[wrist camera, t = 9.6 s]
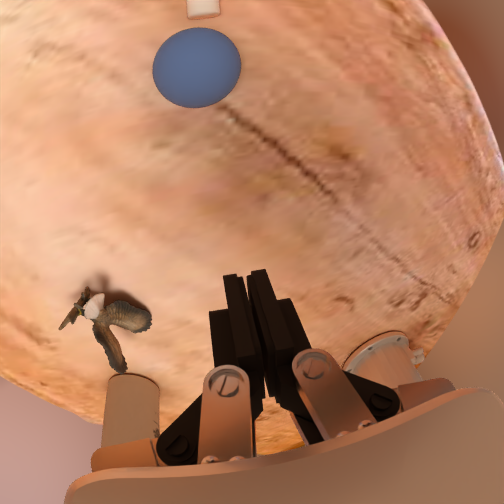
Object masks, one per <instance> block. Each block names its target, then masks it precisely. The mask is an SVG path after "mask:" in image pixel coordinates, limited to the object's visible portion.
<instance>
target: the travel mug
mask: <svg viewBox="0 0 504 504" xmlns="http://www.w3.org/2000/svg"><path fill="white" fill-rule="evenodd" d="M159 436H160V432H159V388H158V387H157V386H156V385H155V384H154V383H153V382H151V381H150V380H148V379H145V378H143V377H140V376H135V375H118V376H114V377H112V378H111V379H110V380H109V382H108V388H107V395H106V403H105V411H104V420H103V431H102V442H101V448H102V447H107V446H112V445H117V444H122V443H127V442H132V441H136V440H141V439H145V438H150V439H154V438H158V437H159Z"/></svg>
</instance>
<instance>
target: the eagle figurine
mask: <svg viewBox="0 0 504 504" xmlns="http://www.w3.org/2000/svg"><path fill="white" fill-rule="evenodd" d="M89 292H90V290H89V289H88V287H86V289H85V292H82V293H81V295H82V296H81V298H80V299H79V300H78V302H77V303H74V308H73V309H72V310H71V311H70V312H69V314H68V315H67V317H66V318H65V320H64V321H63V322H62V324H61V325H60V327H59V330H62V329H63V328H64V327H65V326H66V325H67V324H68V323H69V322H71V324H74V322H75V320H76V318H77V316H79V315H82V316H85V318H86V319H90V320H92V321H93V322H94V325H93V328H92V330H93V331H94V332H93V333H94V335H95V338H96V340H97V342H98V343H100V344H101V345H102V346H103V348H104V349H105V353H106V355H107V356H108V360H109V364H110V366H111V367H112V368H114V370H116V372H118V373H120V374H122V373H123V374H124V372H126V370H127V369H128V368H127V363H126V362H125V358H124V356H123V355H122V351H121V347H120V344H119V342H118V340H117V339H116V337H115V336H114V335H113V333H112V332H111V330H110V328H109V325H111V324H113V325H116V326H119V327H122V328H124V329H128V330H130V331H131V332H133V333H137V332H140V333H141V332H142V331H147V329H150V326H151V325H152V323H151V322H150V321H152V319H151V315H150V314H149V312H147V311H146V310H142V309H140V308H136V307H134V306H130V304H129V303H128V302H127V301H120V300H117V301H114V303H111V304H110V306H108V305H107V306H105V307H104V297H105V294H104V293H100V294H95V295H94V296H93V297H92V298H90V297H89V296H90V293H89ZM86 302H87V303H86ZM85 304H86V307H85V309H83V306H84V305H85Z"/></svg>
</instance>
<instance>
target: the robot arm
mask: <svg viewBox="0 0 504 504" xmlns="http://www.w3.org/2000/svg"><path fill="white" fill-rule="evenodd" d="M223 280H224V286H225V293H226V299H227V305H228V309H223V310H216V311H209V320H210V330H211V339H212V349H213V357H214V366H215V368H214V369H212V370H211V371H210V372H209V373H208V374H207V375H206V377H205V379H204V383H203V393H202V394H201V395H200V396H199V397H198V398H197V399H196V400H195V401H194V402H193V403H192V404H191V405H190V406H189V407H188V408H187V409H186V410H185V411H184V412H183V413H182V414H181V415H180V416H179V417H178V418H177V419H176V420H175V421H174V422H173V423H172V424H171V425H170V426H169V427H168V428H167V429H166V430H165V431H164V432H163V433H162V434H161V435H160V436H159V437H158V438H154V439H150V438H145V439H141V440H136V441H132V442H127V443H122V444H117V445H112V446H107V447H102V448H100V449H97V450H96V451H95V452H94V453H93V455H92V458H91V468H92V473H90V474H87V475H84V476H82V477H80V478H78V479H77V480H75V481H74V482H73V483H72V484H71V485H70V486H69V488H68V490H67V493H66V496H65V501H64V504H504V404H503V402H502V401H501V400H500V398H499V397H498V396H497V395H496V394H494V393H493V392H492V391H490V390H488V389H485V388H478V387H471V388H463V389H458V390H456V389H455V387H454V385H453V383H452V382H451V381H449V380H448V379H445V378H435V379H430V380H425V381H423V379H422V377H421V376H420V374H419V372H418V371H417V369H416V368H415V366H414V365H416V364H418V363H421V362H423V361H424V359H425V357H424V354H423V352H424V351H423V348H422V347H418V348H416V349H414V350H410V348H409V347H408V346H409V341H408V338H407V337H406V335H405V334H404V333H402V332H388V333H385V334H382V335H379V336H377V337H375V338H373V339H371V340H369V341H368V342H366V343H365V344H363V345H362V346H361V347H359V348H358V349H357V350H356V351H355V352H354V353H353V354H352V355H351V356H350V357H349V358H348V359H347V361H346V363H345V364H344V367H343V370H342V369H341V368H340V367H339V365H338V364H337V362H336V361H335V359H334V358H333V357H332V356H331V355H330V354H329V353H328V352H326V351H324V350H321V349H312V348H311V345H310V343H309V341H308V338H307V336H306V333H305V331H304V329H303V326H302V324H301V322H300V319H299V317H298V315H297V312H296V310H295V308H294V305H293V303H292V301H291V299H290V298H287V299H281V300H277V299H276V296H275V294H274V291H273V288H272V286H271V283H270V280H269V278H268V275H267V272H266V270H265V269H262V270H256V271H251V275H248V276H247V287H248V296H247V292H246V288H245V284H244V280H243V277H237V274H231V275H224V276H223ZM248 297H249V300H248ZM264 378H265V382H266V386H267V390H268V394H269V397H274V396H275V399H276V403H280V407H282V408H284V409H286V410H288V411H289V413H290V416H291V418H292V420H293V422H294V423H295V425H296V427H297V429H298V431H299V433H300V435H301V437H302V439H303V441H304V443H305V445H306V447H301V448H297V449H293V450H289V451H284V452H280V453H275V454H270V455H265V456H260V457H257V448H256V423H255V420H256V418H257V417H258V416H259V415H260V413H261V412H262V411H263V403H262V399H264V398H265V385H264Z"/></svg>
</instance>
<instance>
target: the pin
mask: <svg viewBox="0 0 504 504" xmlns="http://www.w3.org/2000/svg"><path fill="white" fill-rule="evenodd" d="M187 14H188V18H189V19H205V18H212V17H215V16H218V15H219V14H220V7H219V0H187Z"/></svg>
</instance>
